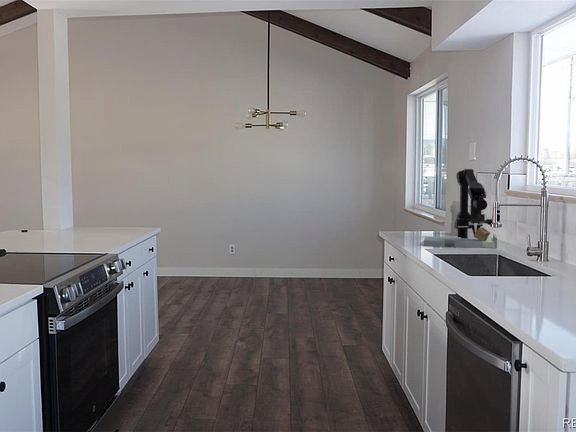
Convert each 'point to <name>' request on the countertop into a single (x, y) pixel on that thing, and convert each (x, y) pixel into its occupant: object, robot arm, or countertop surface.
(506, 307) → the countertop surface
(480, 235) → the block
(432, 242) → the deck
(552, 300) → the countertop surface
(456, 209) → the tall pale column
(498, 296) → the countertop surface
